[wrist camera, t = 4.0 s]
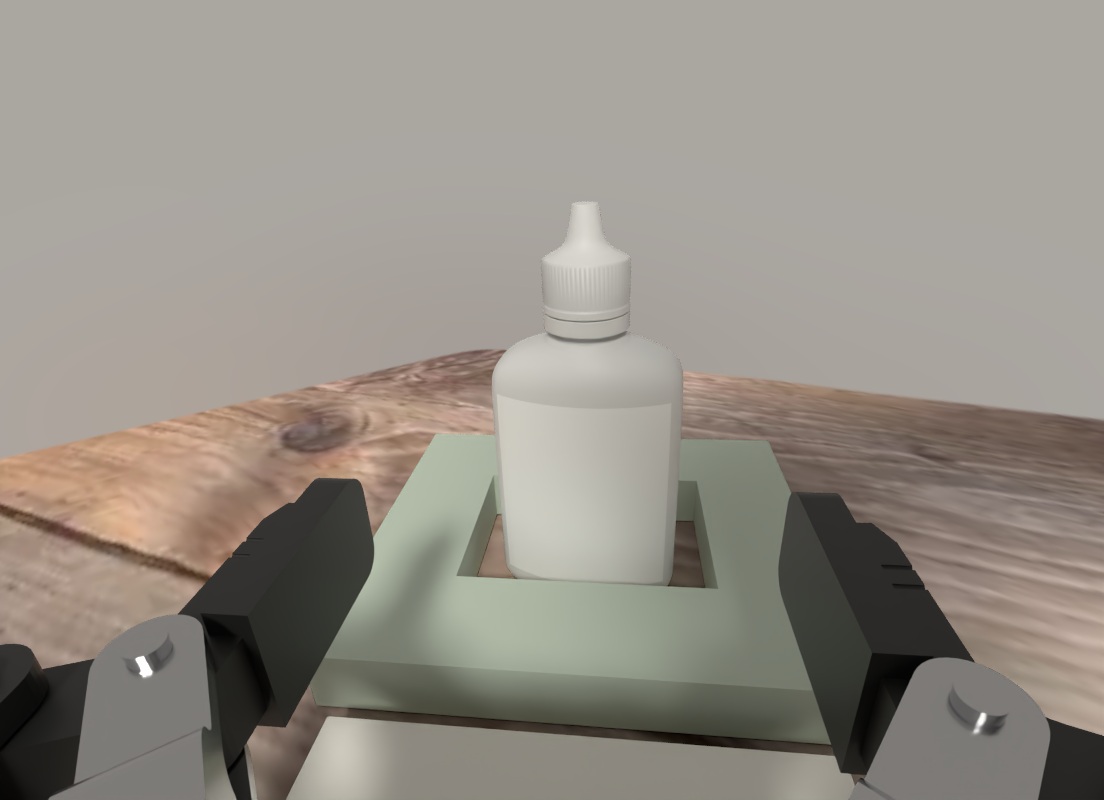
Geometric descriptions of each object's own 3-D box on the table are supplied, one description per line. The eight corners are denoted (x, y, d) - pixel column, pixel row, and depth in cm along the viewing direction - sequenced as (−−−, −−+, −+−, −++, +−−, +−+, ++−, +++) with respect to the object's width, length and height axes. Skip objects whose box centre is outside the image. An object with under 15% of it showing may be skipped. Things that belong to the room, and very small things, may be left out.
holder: (762, 477, 25) (768, 440, 24) (867, 747, 14) (882, 695, 14) (440, 469, 27) (436, 433, 26) (315, 705, 16) (301, 656, 15)
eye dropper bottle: (620, 647, 17) (627, 222, 12) (487, 566, 21) (450, 207, 16) (693, 567, 20) (723, 198, 15) (567, 508, 24) (557, 191, 19)
